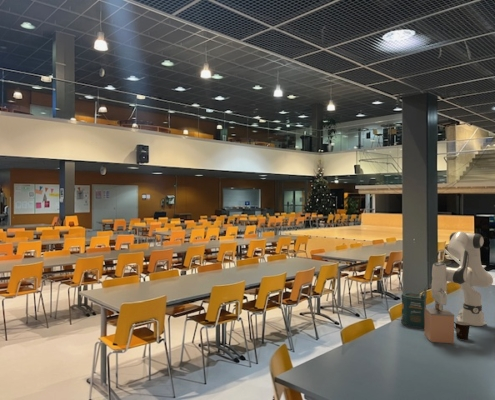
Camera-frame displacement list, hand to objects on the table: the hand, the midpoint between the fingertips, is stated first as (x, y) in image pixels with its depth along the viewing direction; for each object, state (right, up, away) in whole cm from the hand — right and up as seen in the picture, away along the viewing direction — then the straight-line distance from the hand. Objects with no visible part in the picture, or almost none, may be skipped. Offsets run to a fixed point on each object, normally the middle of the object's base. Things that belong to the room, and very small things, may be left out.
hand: (438, 308), depth 251 cm
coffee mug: (+17, -20, +3) cm, 26 cm away
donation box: (-3, -21, +33) cm, 39 cm away
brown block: (0, -20, 0) cm, 20 cm away
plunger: (0, -15, 0) cm, 15 cm away
